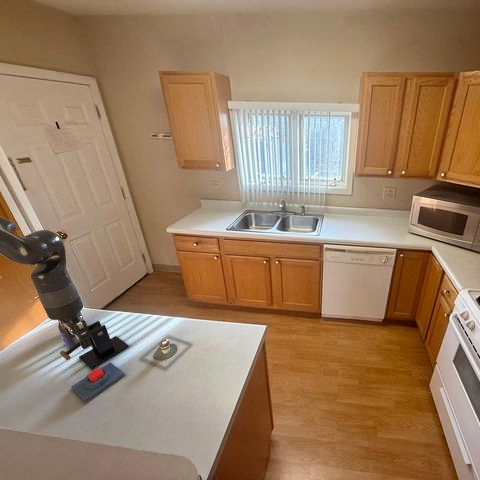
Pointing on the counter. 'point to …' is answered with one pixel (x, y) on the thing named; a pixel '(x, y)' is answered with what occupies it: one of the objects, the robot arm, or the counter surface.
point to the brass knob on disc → (165, 350)
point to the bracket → (101, 346)
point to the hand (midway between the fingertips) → (80, 341)
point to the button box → (97, 382)
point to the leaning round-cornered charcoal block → (69, 341)
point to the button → (96, 374)
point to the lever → (66, 354)
